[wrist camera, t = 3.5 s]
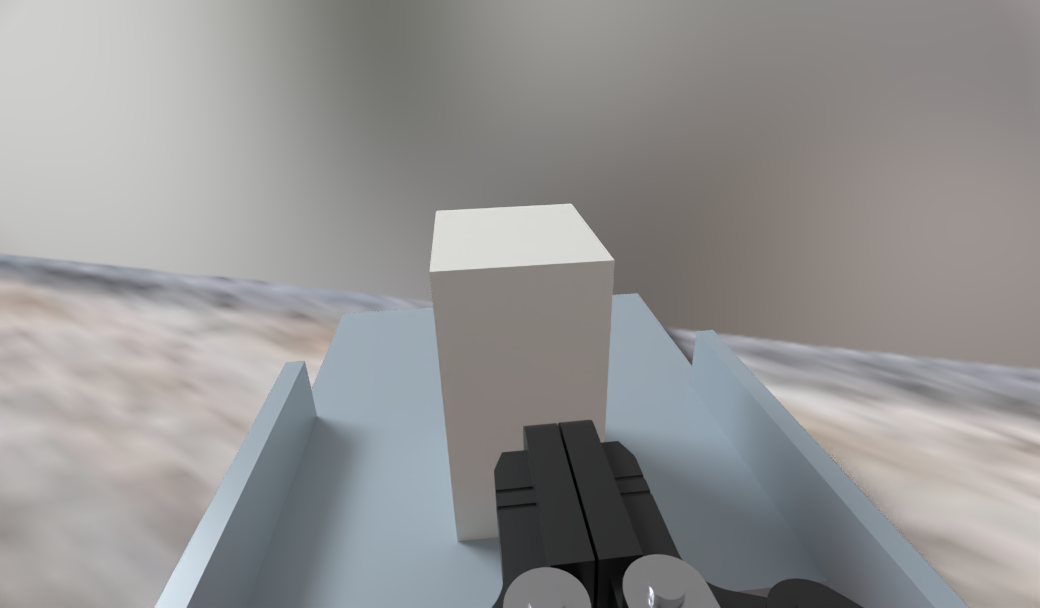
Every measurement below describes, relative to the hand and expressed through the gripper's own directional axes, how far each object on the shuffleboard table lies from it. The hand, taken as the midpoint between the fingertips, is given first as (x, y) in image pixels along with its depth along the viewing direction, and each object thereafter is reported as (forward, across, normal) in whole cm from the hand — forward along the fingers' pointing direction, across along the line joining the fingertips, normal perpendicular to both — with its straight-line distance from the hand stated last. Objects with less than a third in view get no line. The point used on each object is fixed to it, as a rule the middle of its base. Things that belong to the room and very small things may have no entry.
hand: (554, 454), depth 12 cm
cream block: (+7, 0, +7) cm, 10 cm away
